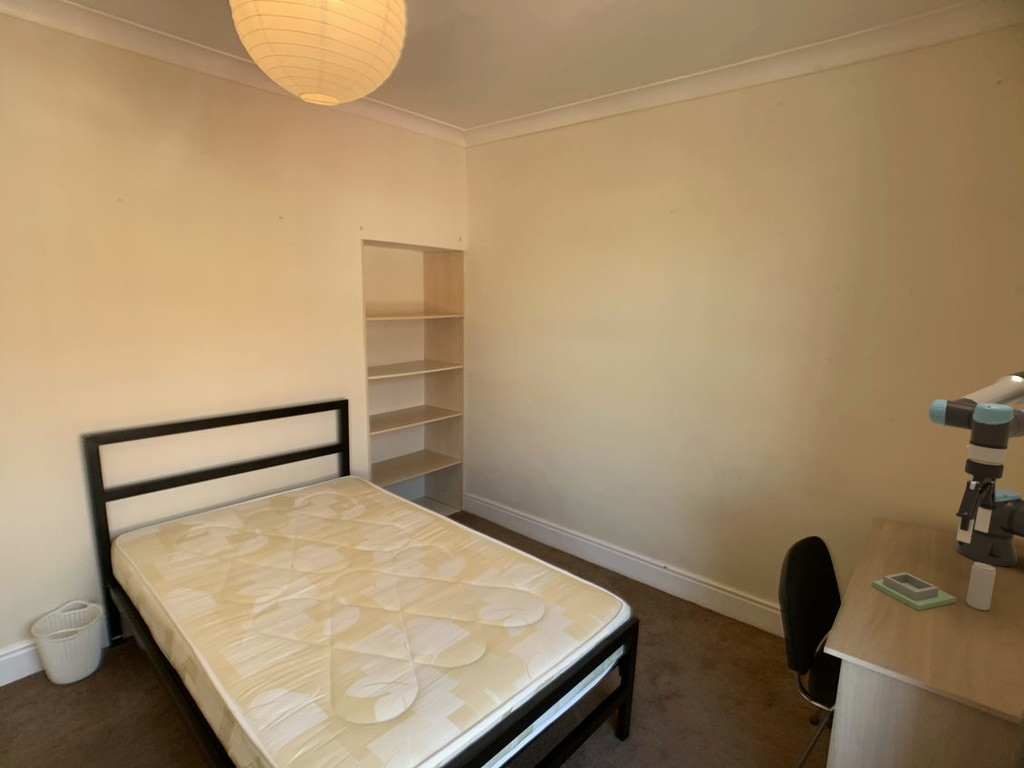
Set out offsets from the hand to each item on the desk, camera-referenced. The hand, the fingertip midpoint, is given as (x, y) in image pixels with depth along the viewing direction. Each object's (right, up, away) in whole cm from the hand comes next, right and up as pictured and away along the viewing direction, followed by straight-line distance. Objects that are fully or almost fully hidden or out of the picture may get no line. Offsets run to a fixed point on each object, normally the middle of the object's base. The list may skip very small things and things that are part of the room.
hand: (972, 536), depth 141 cm
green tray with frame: (-11, -19, +7) cm, 23 cm away
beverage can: (+3, -20, +2) cm, 21 cm away
